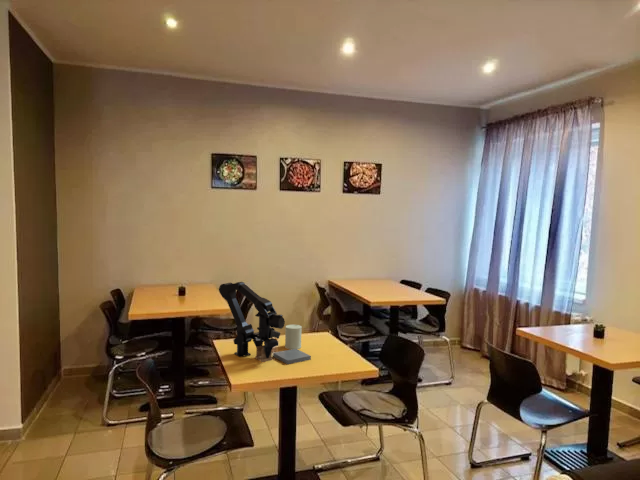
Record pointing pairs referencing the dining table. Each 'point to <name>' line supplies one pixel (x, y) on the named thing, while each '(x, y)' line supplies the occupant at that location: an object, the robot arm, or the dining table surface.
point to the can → (293, 336)
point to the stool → (262, 354)
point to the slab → (291, 356)
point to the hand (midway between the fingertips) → (263, 356)
